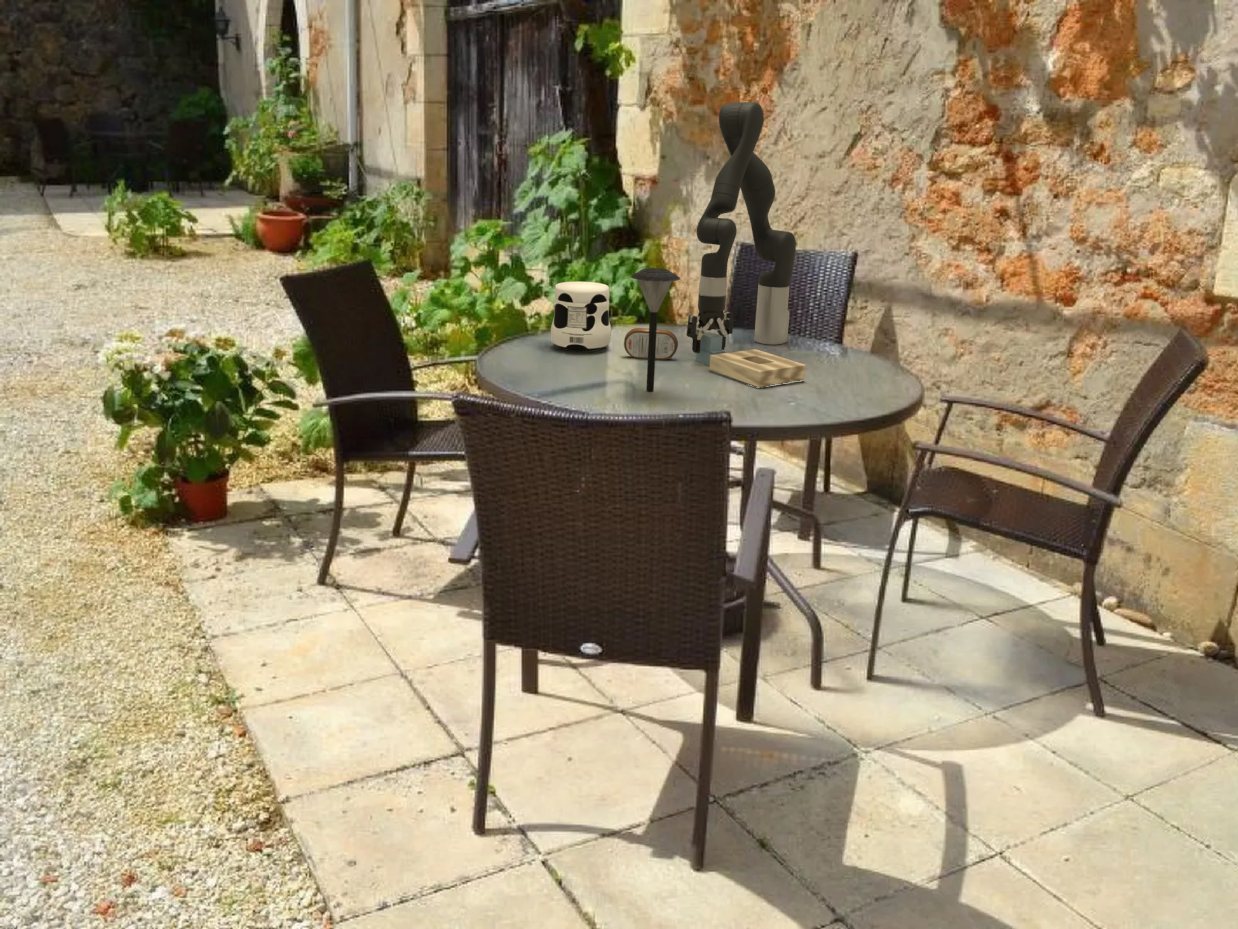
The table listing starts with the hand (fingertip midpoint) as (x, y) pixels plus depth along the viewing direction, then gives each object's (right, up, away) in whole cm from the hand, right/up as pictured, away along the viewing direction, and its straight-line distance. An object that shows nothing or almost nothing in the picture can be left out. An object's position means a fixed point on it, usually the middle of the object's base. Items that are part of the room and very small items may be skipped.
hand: (708, 351), depth 297 cm
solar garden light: (-17, -13, -29) cm, 36 cm away
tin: (-16, -2, +3) cm, 17 cm away
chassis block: (+12, -8, -12) cm, 18 cm away
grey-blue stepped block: (0, -3, +1) cm, 3 cm away
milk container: (-36, +2, +12) cm, 38 cm away
